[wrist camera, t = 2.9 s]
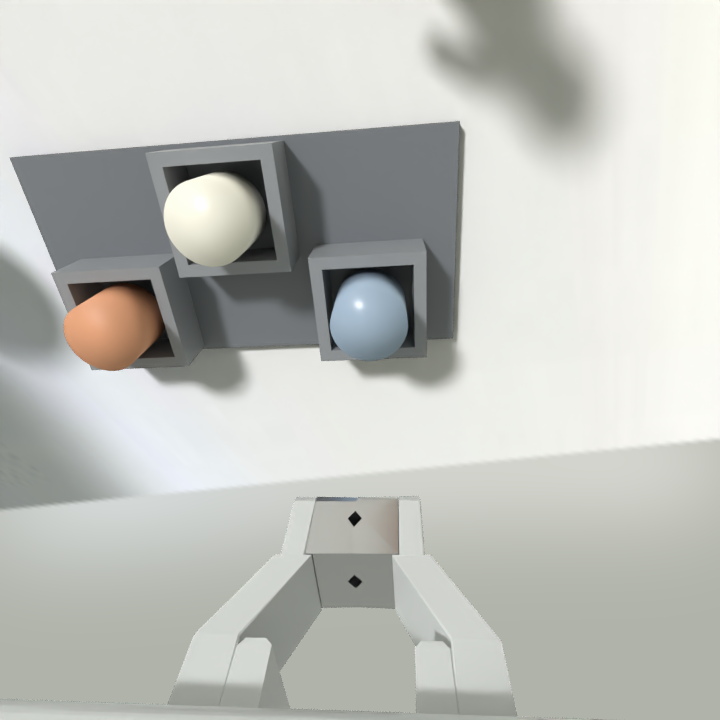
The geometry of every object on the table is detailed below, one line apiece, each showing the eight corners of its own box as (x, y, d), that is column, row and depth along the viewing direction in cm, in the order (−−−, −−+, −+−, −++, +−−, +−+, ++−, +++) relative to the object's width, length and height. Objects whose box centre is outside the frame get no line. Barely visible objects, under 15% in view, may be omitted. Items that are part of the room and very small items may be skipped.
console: (95, 349, 28) (64, 374, 25) (17, 156, 22) (-33, 162, 20) (451, 334, 26) (459, 359, 23) (458, 121, 21) (468, 121, 18)
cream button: (201, 251, 22) (176, 269, 20) (182, 173, 20) (152, 182, 18) (272, 246, 22) (256, 264, 19) (258, 168, 20) (239, 175, 17)
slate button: (339, 335, 24) (334, 362, 21) (333, 271, 22) (326, 291, 20) (406, 332, 24) (408, 359, 21) (404, 267, 22) (407, 287, 19)
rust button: (112, 345, 25) (80, 372, 22) (89, 284, 23) (51, 305, 21) (173, 342, 25) (148, 369, 22) (154, 281, 23) (124, 302, 20)
